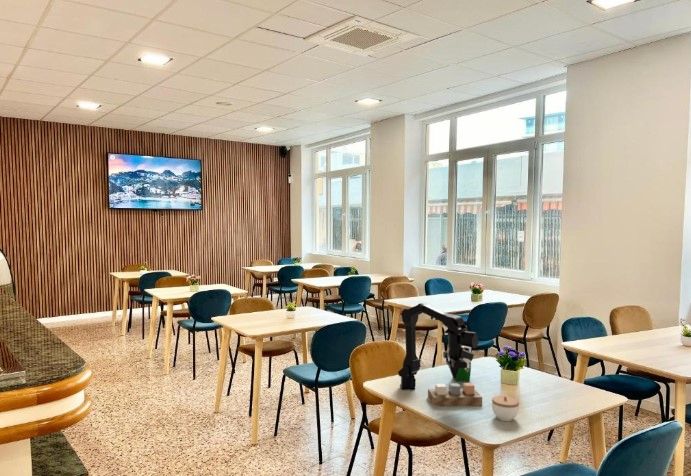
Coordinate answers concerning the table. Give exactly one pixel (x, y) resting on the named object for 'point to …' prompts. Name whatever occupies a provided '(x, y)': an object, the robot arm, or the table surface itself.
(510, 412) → the lidded jar
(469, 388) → the orange cube
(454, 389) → the grey cube
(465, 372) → the milk carton
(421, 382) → the table surface
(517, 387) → the table surface
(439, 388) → the ivory key
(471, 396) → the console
